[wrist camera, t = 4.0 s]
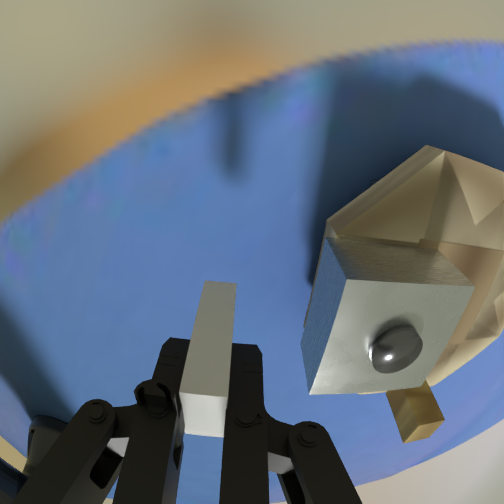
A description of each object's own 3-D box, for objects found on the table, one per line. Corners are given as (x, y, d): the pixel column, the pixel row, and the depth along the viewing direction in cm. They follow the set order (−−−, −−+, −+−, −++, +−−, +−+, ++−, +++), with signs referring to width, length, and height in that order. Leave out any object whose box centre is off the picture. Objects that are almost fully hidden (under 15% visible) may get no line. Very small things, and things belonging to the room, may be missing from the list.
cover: (300, 343, 18) (310, 403, 14) (325, 236, 15) (351, 287, 11) (399, 343, 18) (424, 393, 14) (437, 249, 15) (481, 293, 11)
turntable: (289, 378, 22) (297, 455, 16) (342, 124, 14) (405, 138, 8) (462, 366, 23) (492, 417, 17) (538, 188, 15) (599, 222, 9)
